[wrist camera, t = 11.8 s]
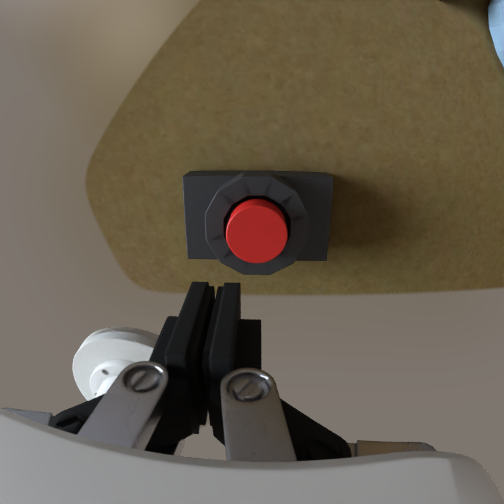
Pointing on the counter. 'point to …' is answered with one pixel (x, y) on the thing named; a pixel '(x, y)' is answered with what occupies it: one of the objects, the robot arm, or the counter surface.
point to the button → (256, 231)
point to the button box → (257, 187)
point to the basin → (497, 26)
